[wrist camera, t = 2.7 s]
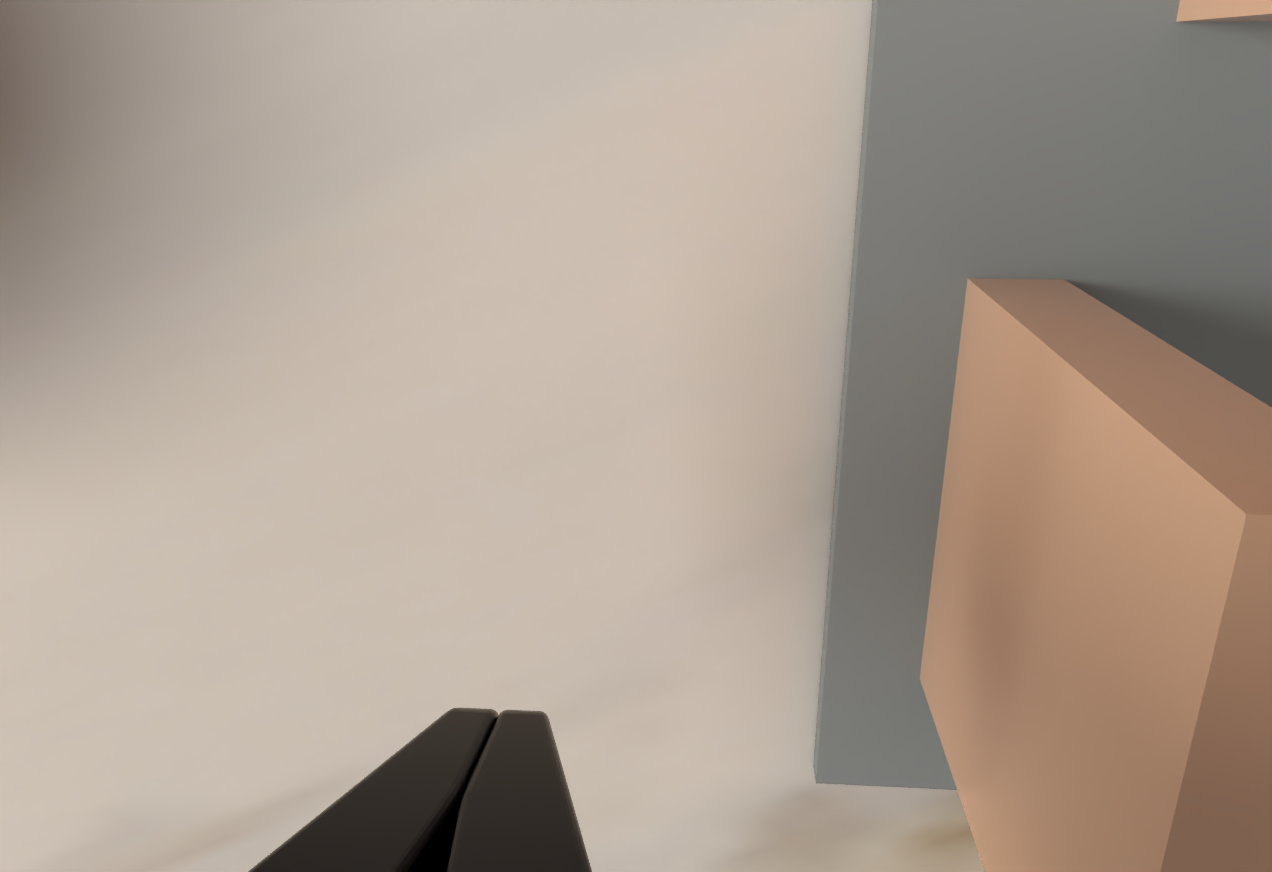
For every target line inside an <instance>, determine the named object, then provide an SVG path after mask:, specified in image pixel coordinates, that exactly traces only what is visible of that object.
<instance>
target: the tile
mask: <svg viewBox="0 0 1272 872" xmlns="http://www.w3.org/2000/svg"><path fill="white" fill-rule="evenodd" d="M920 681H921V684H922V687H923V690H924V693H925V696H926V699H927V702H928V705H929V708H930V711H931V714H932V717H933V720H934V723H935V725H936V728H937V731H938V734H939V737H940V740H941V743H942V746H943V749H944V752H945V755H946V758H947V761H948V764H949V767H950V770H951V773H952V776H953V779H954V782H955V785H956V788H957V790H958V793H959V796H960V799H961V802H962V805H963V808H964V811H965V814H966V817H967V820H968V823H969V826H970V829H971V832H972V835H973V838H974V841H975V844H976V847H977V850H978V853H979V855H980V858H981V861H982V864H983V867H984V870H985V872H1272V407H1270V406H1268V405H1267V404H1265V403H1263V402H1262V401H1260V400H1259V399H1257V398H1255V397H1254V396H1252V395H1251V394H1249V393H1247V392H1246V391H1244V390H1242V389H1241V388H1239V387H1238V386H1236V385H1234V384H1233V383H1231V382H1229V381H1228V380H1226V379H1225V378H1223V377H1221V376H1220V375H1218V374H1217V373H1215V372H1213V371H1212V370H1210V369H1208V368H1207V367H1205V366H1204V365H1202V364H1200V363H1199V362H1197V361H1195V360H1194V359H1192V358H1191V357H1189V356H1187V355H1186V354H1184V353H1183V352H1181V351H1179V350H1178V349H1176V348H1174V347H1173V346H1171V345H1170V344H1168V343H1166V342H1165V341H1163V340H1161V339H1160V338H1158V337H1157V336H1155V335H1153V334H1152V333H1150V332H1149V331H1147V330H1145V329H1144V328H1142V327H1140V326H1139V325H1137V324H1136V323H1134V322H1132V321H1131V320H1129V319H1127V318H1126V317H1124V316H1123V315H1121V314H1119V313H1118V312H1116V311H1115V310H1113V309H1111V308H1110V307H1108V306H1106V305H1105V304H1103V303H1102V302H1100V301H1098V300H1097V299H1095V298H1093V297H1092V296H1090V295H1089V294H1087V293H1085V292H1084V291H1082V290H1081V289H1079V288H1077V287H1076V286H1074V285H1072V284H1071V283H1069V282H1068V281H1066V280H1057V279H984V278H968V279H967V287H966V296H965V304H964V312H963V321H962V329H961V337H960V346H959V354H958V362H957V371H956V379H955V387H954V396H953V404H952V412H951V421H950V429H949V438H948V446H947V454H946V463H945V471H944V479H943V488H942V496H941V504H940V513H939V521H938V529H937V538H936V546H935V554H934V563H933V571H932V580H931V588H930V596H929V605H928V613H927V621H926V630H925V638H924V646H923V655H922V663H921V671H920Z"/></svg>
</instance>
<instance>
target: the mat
mask: <svg viewBox="0 0 1272 872" xmlns="http://www.w3.org/2000/svg"><path fill="white" fill-rule="evenodd" d="M1179 3H1180V0H873V4H872V17H871V29H870V42H869V55H868V68H867V81H866V94H865V107H864V120H863V133H862V146H861V159H860V171H859V184H858V197H857V210H856V223H855V236H854V249H853V262H852V275H851V288H850V300H849V313H848V326H847V339H846V352H845V365H844V378H843V391H842V404H841V417H840V430H839V442H838V455H837V468H836V481H835V494H834V507H833V520H832V533H831V546H830V559H829V572H828V584H827V597H826V610H825V623H824V636H823V649H822V662H821V675H820V688H819V701H818V713H817V726H816V739H815V752H814V765H813V767H814V774H815V780H816V783H824V784H845V785H866V786H887V787H908V788H929V789H950V790H957V788H956V785H955V782H954V779H953V776H952V773H951V770H950V767H949V764H948V761H947V758H946V755H945V752H944V749H943V746H942V743H941V740H940V737H939V734H938V731H937V728H936V725H935V723H934V720H933V717H932V714H931V711H930V708H929V705H928V702H927V699H926V696H925V693H924V690H923V687H922V684H921V681H920V671H921V663H922V655H923V646H924V638H925V630H926V621H927V613H928V605H929V596H930V588H931V580H932V571H933V563H934V554H935V546H936V538H937V529H938V521H939V513H940V504H941V496H942V488H943V479H944V471H945V463H946V454H947V446H948V438H949V429H950V421H951V412H952V404H953V396H954V387H955V379H956V371H957V362H958V354H959V346H960V337H961V329H962V321H963V312H964V304H965V296H966V287H967V279H968V278H984V279H1057V280H1066V281H1068V282H1069V283H1071V284H1072V285H1074V286H1076V287H1077V288H1079V289H1081V290H1082V291H1084V292H1085V293H1087V294H1089V295H1090V296H1092V297H1093V298H1095V299H1097V300H1098V301H1100V302H1102V303H1103V304H1105V305H1106V306H1108V307H1110V308H1111V309H1113V310H1115V311H1116V312H1118V313H1119V314H1121V315H1123V316H1124V317H1126V318H1127V319H1129V320H1131V321H1132V322H1134V323H1136V324H1137V325H1139V326H1140V327H1142V328H1144V329H1145V330H1147V331H1149V332H1150V333H1152V334H1153V335H1155V336H1157V337H1158V338H1160V339H1161V340H1163V341H1165V342H1166V343H1168V344H1170V345H1171V346H1173V347H1174V348H1176V349H1178V350H1179V351H1181V352H1183V353H1184V354H1186V355H1187V356H1189V357H1191V358H1192V359H1194V360H1195V361H1197V362H1199V363H1200V364H1202V365H1204V366H1205V367H1207V368H1208V369H1210V370H1212V371H1213V372H1215V373H1217V374H1218V375H1220V376H1221V377H1223V378H1225V379H1226V380H1228V381H1229V382H1231V383H1233V384H1234V385H1236V386H1238V387H1239V388H1241V389H1242V390H1244V391H1246V392H1247V393H1249V394H1251V395H1252V396H1254V397H1255V398H1257V399H1259V400H1260V401H1262V402H1263V403H1265V404H1267V405H1268V406H1270V407H1272V21H1258V22H1176V19H1177V14H1178V8H1179Z"/></svg>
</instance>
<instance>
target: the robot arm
mask: <svg viewBox="0 0 1272 872" xmlns="http://www.w3.org/2000/svg"><path fill="white" fill-rule="evenodd" d="M248 872H592V870H591V867H590V863H589V860H588V856H587V853H586V849H585V845H584V842H583V838H582V835H581V831H580V828H579V824H578V821H577V817H576V814H575V810H574V807H573V803H572V800H571V796H570V792H569V789H568V785H567V782H566V778H565V775H564V771H563V768H562V764H561V761H560V757H559V754H558V750H557V747H556V743H555V740H554V736H553V732H552V729H551V725H550V722H549V719H548V716H547V715H546V714H545V713H544V712H541V711H523V710H505V711H503V712H501V713H500V714H499V715H498V713H497V712H496V711H495V710H492V709H476V708H454V709H451V710H449V711H448V712H446V713H445V714H444V715H442V716H441V717H440V718H439V719H438V720H436V721H435V722H434V723H433V724H431V725H430V726H429V727H428V728H426V729H425V730H424V731H423V732H421V733H420V734H419V735H418V736H416V737H415V738H414V739H413V740H411V741H410V742H409V743H408V744H406V745H405V746H404V747H403V748H401V749H400V750H399V751H398V752H396V753H395V754H394V755H393V756H391V757H390V758H389V759H388V760H386V761H385V762H384V763H383V764H382V765H380V766H379V767H378V768H377V769H375V770H374V771H373V772H372V773H370V774H369V775H368V776H367V777H365V778H364V779H363V780H362V781H360V782H359V783H358V784H357V785H355V786H354V787H353V788H352V789H350V790H349V791H348V792H347V793H345V794H344V795H343V796H342V797H340V798H339V799H338V800H337V801H335V802H334V803H333V804H332V805H331V806H329V807H328V808H327V809H326V810H324V811H323V812H322V813H321V814H319V815H318V816H317V817H316V818H314V819H313V820H312V821H311V822H309V823H308V824H307V825H306V826H304V827H303V828H302V829H301V830H299V831H298V832H297V833H296V834H294V835H293V836H292V837H291V838H289V839H288V840H287V841H286V842H284V843H283V844H282V845H281V846H280V847H278V848H277V849H276V850H275V851H273V852H272V853H271V854H270V855H268V856H267V857H266V858H265V859H263V860H262V861H261V862H260V863H258V864H257V865H256V866H255V867H253V868H252V869H251V870H250V871H248Z"/></svg>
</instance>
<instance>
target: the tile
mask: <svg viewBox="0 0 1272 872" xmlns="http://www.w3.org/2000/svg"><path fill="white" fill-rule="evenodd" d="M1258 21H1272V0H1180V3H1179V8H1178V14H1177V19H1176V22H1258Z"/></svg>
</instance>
